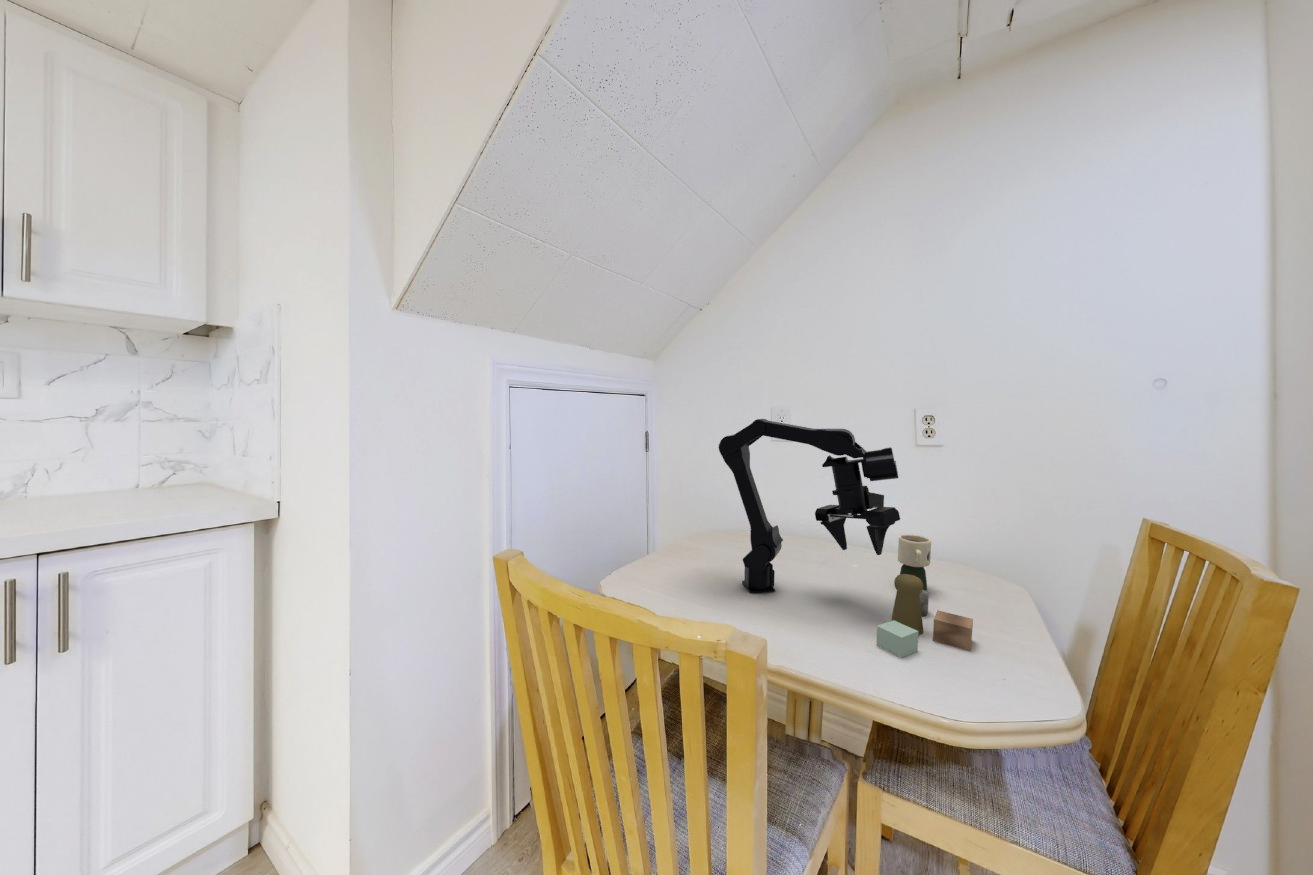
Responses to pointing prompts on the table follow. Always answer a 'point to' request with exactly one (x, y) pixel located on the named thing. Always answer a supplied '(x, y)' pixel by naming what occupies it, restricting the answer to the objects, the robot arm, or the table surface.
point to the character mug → (914, 556)
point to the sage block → (897, 638)
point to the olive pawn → (908, 602)
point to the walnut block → (952, 630)
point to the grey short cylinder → (924, 602)
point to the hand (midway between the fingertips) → (861, 552)
